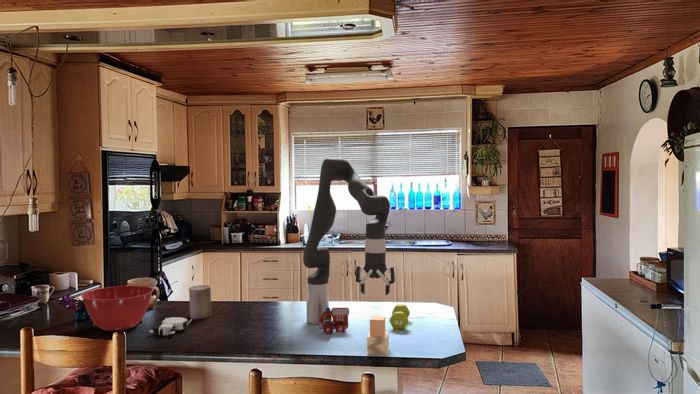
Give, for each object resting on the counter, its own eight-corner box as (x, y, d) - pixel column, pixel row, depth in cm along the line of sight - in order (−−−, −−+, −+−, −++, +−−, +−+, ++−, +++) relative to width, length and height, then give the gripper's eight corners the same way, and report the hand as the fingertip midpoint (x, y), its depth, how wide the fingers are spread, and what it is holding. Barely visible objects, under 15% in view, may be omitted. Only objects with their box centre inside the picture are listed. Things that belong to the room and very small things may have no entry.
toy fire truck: (320, 329, 225) (320, 304, 224) (349, 329, 224) (349, 305, 223) (318, 334, 218) (318, 309, 217) (348, 334, 217) (348, 309, 216)
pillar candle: (215, 314, 251) (214, 282, 250) (205, 319, 241) (204, 286, 240) (195, 313, 252) (194, 282, 252) (185, 319, 243) (184, 286, 242)
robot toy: (174, 340, 215) (193, 327, 230) (173, 329, 214) (192, 317, 229) (147, 338, 218) (167, 325, 232) (146, 328, 217) (166, 315, 232)
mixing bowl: (111, 316, 249) (110, 283, 248) (166, 319, 243) (165, 285, 242) (67, 334, 221) (65, 297, 220) (129, 338, 215) (127, 300, 214)
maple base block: (367, 353, 191) (367, 337, 190) (369, 347, 198) (369, 331, 197) (386, 354, 190) (386, 337, 189) (388, 348, 196) (388, 331, 196)
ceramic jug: (116, 311, 258) (116, 282, 257) (135, 303, 272) (134, 276, 271) (150, 314, 254) (149, 284, 253) (167, 306, 268) (166, 278, 267)
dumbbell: (408, 330, 221) (407, 313, 221) (388, 330, 223) (388, 313, 222) (410, 320, 238) (410, 303, 237) (392, 319, 239) (392, 303, 239)
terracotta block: (369, 336, 191) (369, 319, 191) (371, 332, 196) (371, 315, 196) (383, 336, 190) (383, 320, 190) (385, 332, 195) (385, 316, 195)
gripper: (354, 251, 193) (354, 295, 194) (393, 252, 190) (393, 297, 191) (357, 248, 200) (357, 290, 201) (395, 249, 198) (395, 292, 199)
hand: (375, 294), depth 196 cm, fingers open, 8 cm apart
